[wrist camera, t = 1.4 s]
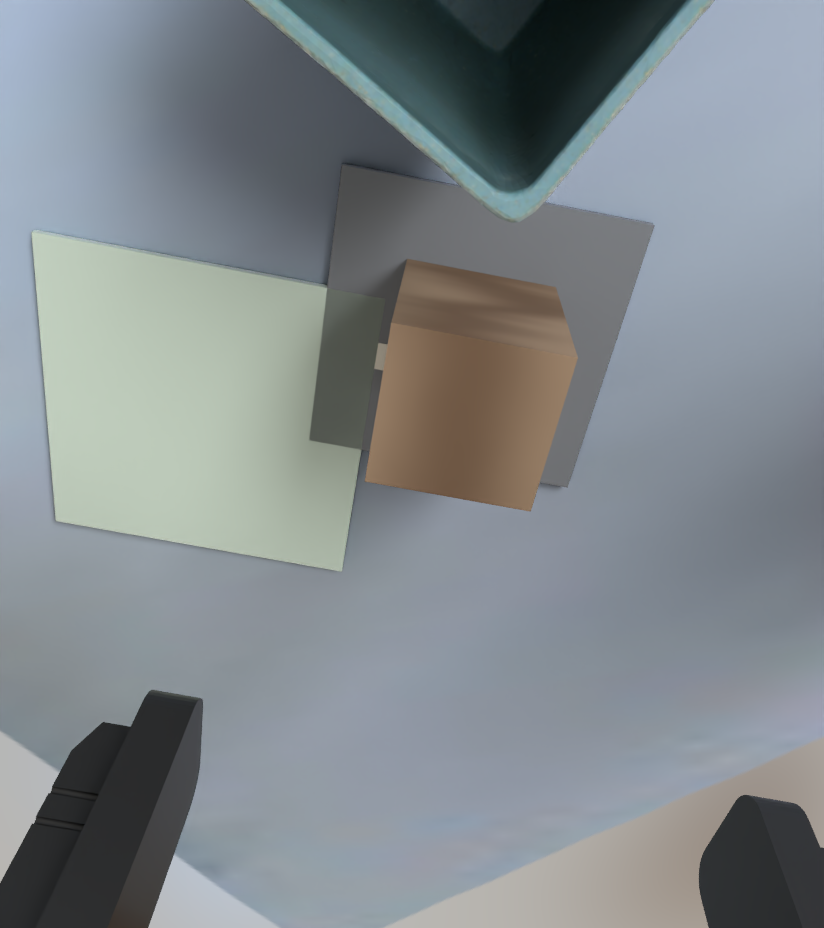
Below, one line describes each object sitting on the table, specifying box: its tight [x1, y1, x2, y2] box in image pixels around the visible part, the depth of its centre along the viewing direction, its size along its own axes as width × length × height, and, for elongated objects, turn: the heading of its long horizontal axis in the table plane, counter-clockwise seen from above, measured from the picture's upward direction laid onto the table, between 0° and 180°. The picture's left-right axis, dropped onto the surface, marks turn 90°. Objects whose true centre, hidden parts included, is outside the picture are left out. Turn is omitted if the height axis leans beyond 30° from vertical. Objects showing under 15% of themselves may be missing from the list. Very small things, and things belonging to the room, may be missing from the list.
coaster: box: [31, 230, 385, 572], centre depth 29 cm, size 12×12×1 cm
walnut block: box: [365, 259, 578, 511], centre depth 24 cm, size 5×5×6 cm
